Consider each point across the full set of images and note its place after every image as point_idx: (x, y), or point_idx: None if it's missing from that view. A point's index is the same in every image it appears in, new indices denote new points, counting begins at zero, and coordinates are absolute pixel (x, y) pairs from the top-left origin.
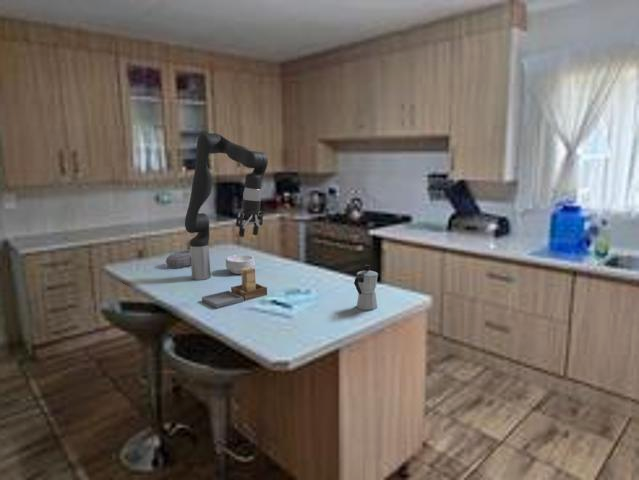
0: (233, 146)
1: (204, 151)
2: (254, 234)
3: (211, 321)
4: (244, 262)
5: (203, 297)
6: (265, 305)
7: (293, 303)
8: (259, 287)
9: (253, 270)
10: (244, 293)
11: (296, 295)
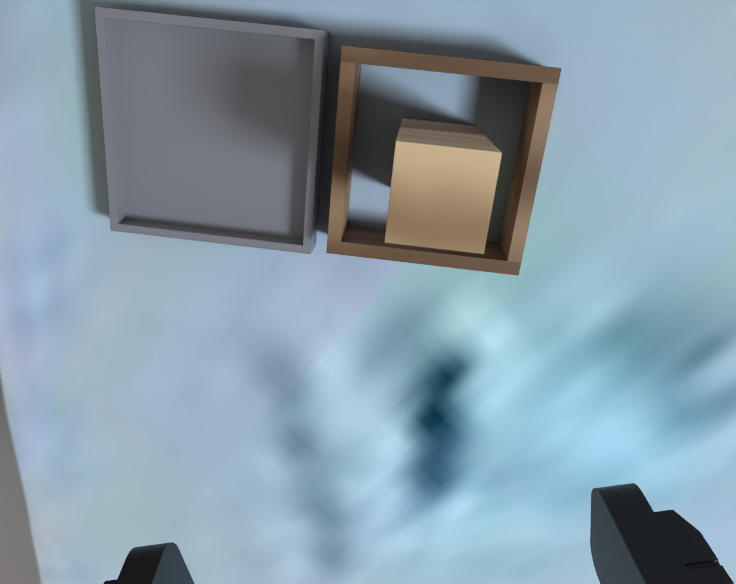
0: None
1: None
2: (595, 523)
3: (26, 352)
4: None
5: (98, 32)
6: (363, 386)
7: (488, 472)
8: (518, 190)
9: (464, 248)
10: (327, 246)
11: (614, 400)
